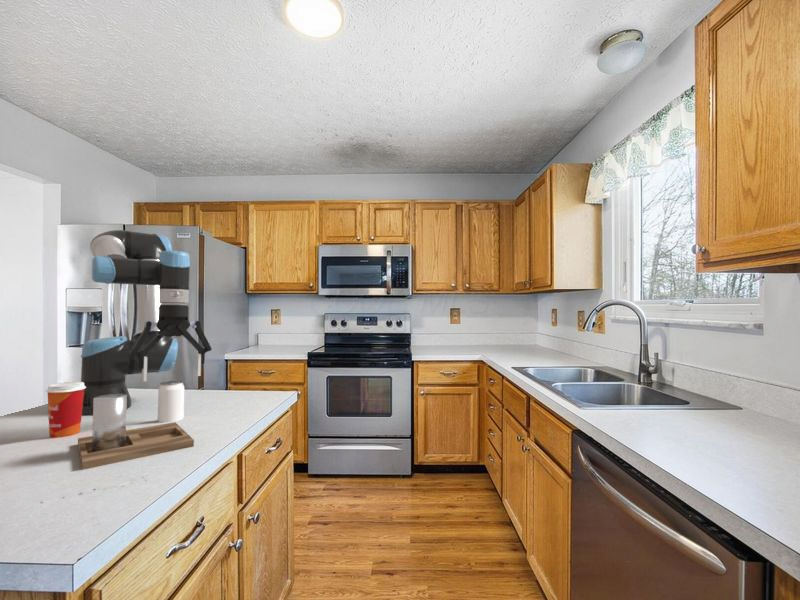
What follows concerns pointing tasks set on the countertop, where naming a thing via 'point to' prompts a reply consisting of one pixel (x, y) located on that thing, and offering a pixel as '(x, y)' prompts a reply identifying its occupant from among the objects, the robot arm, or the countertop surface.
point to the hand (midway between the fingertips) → (172, 378)
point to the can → (171, 401)
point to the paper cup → (65, 408)
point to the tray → (136, 445)
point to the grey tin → (109, 422)
